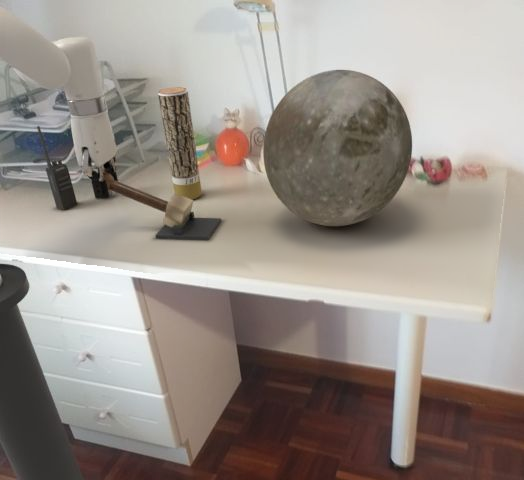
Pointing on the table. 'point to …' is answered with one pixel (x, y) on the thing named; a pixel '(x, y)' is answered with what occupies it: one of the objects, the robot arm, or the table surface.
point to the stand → (190, 229)
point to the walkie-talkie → (59, 180)
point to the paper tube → (180, 141)
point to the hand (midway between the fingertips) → (107, 193)
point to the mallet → (155, 201)
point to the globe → (337, 148)
